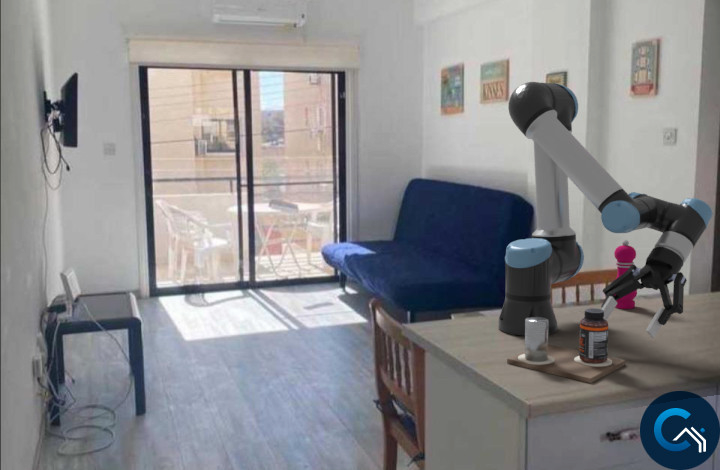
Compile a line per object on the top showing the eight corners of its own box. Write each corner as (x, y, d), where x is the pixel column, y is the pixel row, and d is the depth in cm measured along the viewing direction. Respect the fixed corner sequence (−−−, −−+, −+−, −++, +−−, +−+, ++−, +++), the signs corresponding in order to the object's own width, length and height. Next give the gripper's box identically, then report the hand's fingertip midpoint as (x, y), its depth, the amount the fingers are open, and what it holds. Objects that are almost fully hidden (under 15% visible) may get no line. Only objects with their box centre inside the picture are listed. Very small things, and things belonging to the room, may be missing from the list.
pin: (520, 359, 157) (520, 320, 155) (532, 354, 160) (532, 316, 159) (540, 364, 153) (540, 324, 152) (552, 358, 157) (552, 319, 155)
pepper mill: (638, 309, 204) (640, 241, 201) (612, 309, 205) (614, 241, 202) (634, 304, 211) (636, 238, 208) (609, 303, 212) (610, 238, 209)
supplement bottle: (575, 356, 158) (576, 307, 156) (602, 355, 157) (603, 306, 156) (583, 364, 152) (584, 313, 150) (611, 364, 151) (612, 313, 150)
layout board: (507, 362, 157) (507, 357, 157) (544, 347, 169) (544, 342, 168) (590, 383, 143) (590, 377, 143) (624, 364, 155) (625, 359, 154)
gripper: (725, 273, 155) (680, 350, 150) (631, 258, 176) (588, 325, 171) (712, 252, 152) (665, 330, 146) (617, 239, 173) (573, 307, 168)
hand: (623, 327), depth 159 cm, fingers open, 13 cm apart
